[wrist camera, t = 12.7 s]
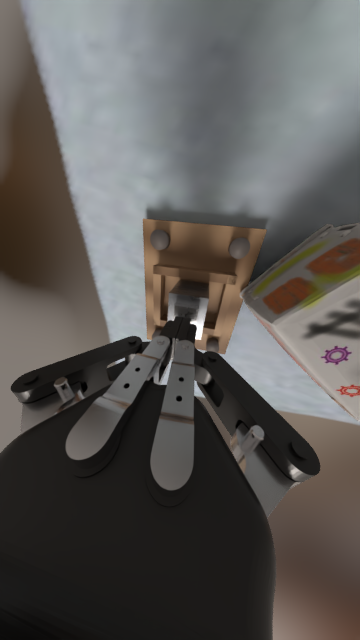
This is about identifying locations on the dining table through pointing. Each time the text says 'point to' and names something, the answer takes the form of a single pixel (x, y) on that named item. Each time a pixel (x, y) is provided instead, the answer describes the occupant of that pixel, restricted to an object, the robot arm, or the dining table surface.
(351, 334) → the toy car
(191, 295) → the block
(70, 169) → the dining table surface
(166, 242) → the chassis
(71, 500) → the robot arm
